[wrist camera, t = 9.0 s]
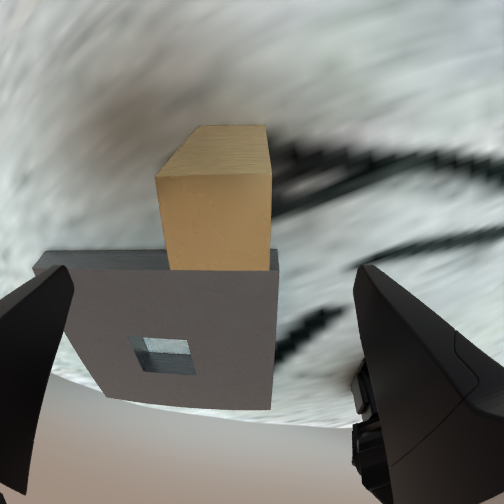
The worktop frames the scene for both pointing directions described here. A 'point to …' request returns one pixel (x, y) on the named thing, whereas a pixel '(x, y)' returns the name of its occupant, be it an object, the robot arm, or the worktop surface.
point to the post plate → (172, 328)
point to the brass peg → (218, 200)
